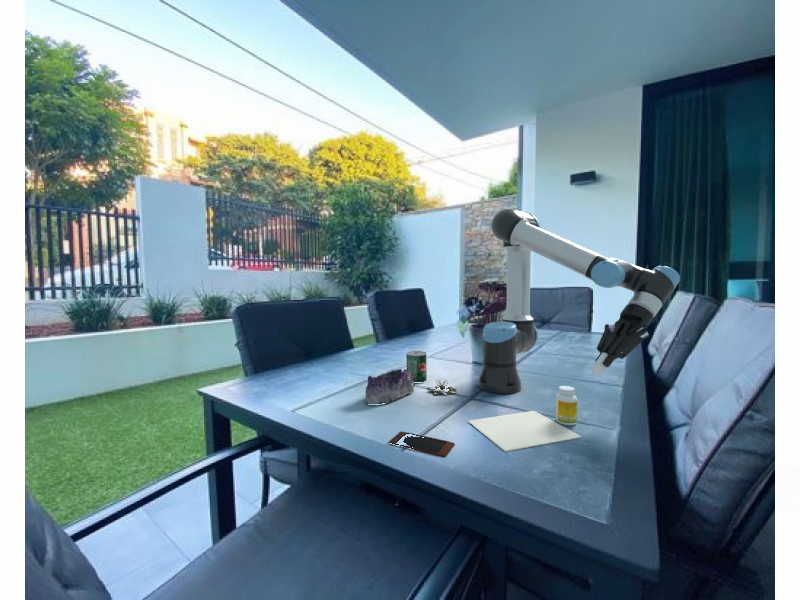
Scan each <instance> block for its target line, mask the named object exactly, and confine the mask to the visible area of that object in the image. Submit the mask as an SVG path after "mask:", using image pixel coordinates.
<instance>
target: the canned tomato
mask: <svg viewBox="0 0 800 600" xmlns="http://www.w3.org/2000/svg"><path fill="white" fill-rule="evenodd" d="M427 369H428V368H427V352H426V351H420V350H413V351H412V350H411V351H408V352H406V370H409V371H410V372H411V376H410V378H411V380H413V381H414V382H424V381H426V380H427V377H428V376H427ZM427 381H428V380H427ZM427 381H426V382H427Z"/></svg>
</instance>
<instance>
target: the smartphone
mask: <svg viewBox="0 0 800 600" xmlns="http://www.w3.org/2000/svg"><path fill="white" fill-rule="evenodd" d="M406 434H412V435H416V436H420V437H413V436H411V437H408V436H407V438H406V437H405V439H404V441H403V442H404V443H406V444H407V445H409V446H410V447H408V446H404V445H400V446H403V447H407V448H411V449H414V450H417V451H416V452H418V451H420V452H419V453H422V454H423V453H424V454H427V455H431V456H436V457H440V458H447V456H448V455H449V453H451V451H452V449H453V448H454V447H455V446H456V445H455V444H456V443H455V442H452V441H448V440H444V439H440V438H436V437H432V436H431V437H430V436H426V435H421V434H416V433H412V432H407V431H399V432H397V434H396V435H394V437H392V438H391V439H390V440H388V442H387V444H388V443H392V444H395V445H399V444H396V443H397V442H398V441H399V440H400V439H401V438H402V437H403V436H405V435H406ZM422 437H424V438H422ZM412 447H413V448H412ZM414 450H413V451H414Z"/></svg>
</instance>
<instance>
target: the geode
mask: <svg viewBox="0 0 800 600" xmlns="http://www.w3.org/2000/svg"><path fill="white" fill-rule="evenodd" d="M410 376H411V372H410V371H409V370H407V369H404V370H402V368H399V369H391V370H390V371H388V372H387V373H383V374H380V375H377V377H376V376H371V375H368V377H367V384H366V386H365V391H364V393H365V397H364V399H365V401H366V402H367V403H368V404H382V403H388V402H390V403H391V401H392V402H394V401H396V400H395V399H397V400H399V399H398V398H400V397H401V398H402V397H403V396H404V397H406V396H405V395H407V394H409V395H410V394H411V392H412V393H414V392H415V389H414V387H415V384H414V381H413V380H411V378H410ZM407 396H408V395H407ZM404 397H403V398H404ZM401 398H400V399H401ZM393 400H394V401H393ZM365 401H364V402H365ZM366 402H365V403H366ZM388 404H389V403H388Z"/></svg>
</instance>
